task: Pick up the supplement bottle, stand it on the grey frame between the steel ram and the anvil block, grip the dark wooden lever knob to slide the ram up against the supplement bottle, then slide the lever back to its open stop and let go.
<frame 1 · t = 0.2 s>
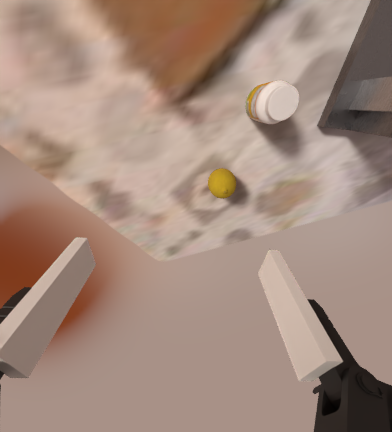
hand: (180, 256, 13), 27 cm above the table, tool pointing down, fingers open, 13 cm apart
lemon: (219, 175, 38), on the table
supplement bottle: (259, 103, 31), on the table
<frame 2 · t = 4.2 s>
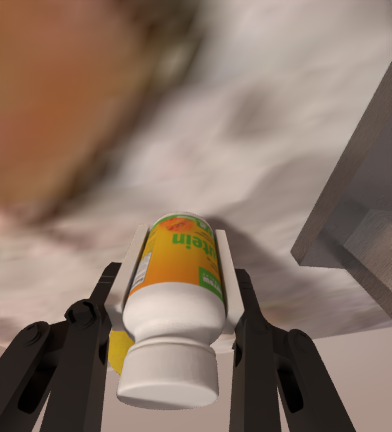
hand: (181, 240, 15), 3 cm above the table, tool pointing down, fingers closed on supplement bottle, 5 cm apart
lemon: (143, 301, 24), on the table
supplement bottle: (182, 234, 15), point 2 cm above the table, touching gripper
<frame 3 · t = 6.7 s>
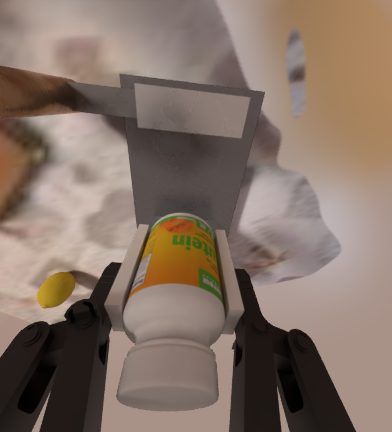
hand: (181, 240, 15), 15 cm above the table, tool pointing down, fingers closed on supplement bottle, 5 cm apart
lemon: (69, 271, 39), on the table
grey frame: (187, 182, 27), on the table
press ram: (132, 105, 14), point 9 cm above the table, slide at 0.0 cm
supplement bottle: (182, 235, 15), point 14 cm above the table, touching gripper
when the fingers open (3 cm above the table, at t = 9.1 s): supplement bottle stays where it is, resting on grey frame.
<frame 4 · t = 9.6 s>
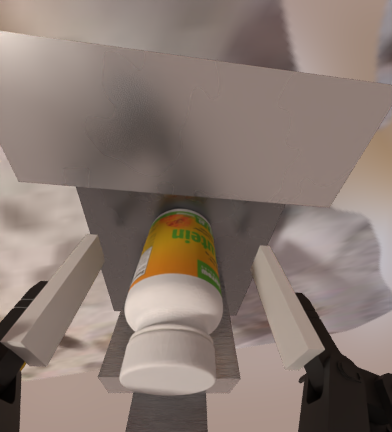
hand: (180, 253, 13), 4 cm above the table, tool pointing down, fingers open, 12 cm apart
grey frame: (182, 229, 17), on the table
supplement bottle: (181, 231, 15), point 2 cm above the table, touching grey frame
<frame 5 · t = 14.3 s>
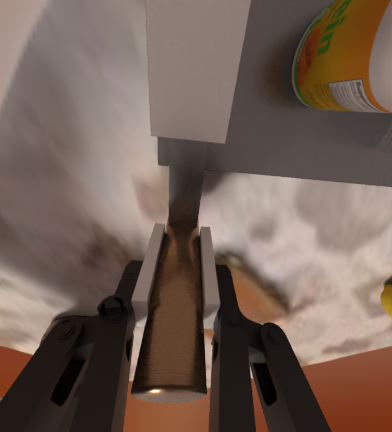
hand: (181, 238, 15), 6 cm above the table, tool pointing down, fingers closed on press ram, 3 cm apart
lemon: (385, 283, 28), on the table
grey frame: (328, 67, 13), on the table
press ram: (187, 149, 8), point 9 cm above the table, slide at 0.0 cm, touching gripper
supplement bottle: (329, 61, 11), point 2 cm above the table, touching grey frame
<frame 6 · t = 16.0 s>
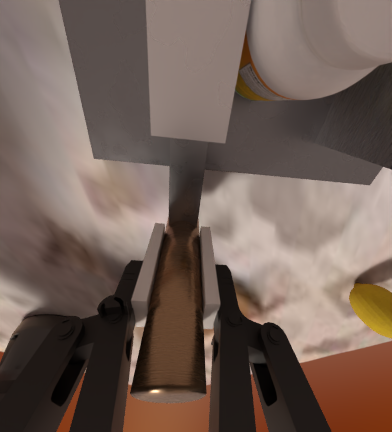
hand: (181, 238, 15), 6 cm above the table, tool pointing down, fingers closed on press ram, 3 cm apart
lemon: (355, 282, 28), on the table
grey frame: (259, 57, 13), on the table
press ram: (188, 148, 8), point 9 cm above the table, slide at 5.4 cm, touching supplement bottle, gripper
supplement bottle: (261, 50, 11), point 2 cm above the table, touching grey frame, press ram
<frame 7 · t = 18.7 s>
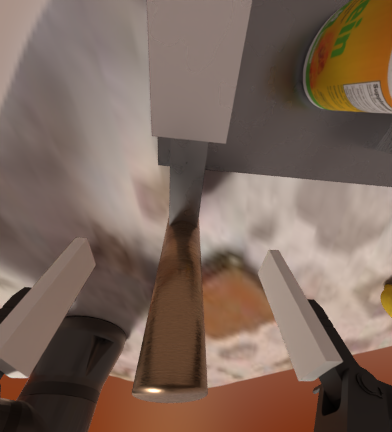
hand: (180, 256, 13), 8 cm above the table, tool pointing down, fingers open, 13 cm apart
lemon: (385, 283, 28), on the table
grey frame: (328, 67, 13), on the table
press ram: (188, 149, 8), point 9 cm above the table, slide at 0.0 cm
supplement bottle: (340, 62, 11), point 2 cm above the table, touching grey frame
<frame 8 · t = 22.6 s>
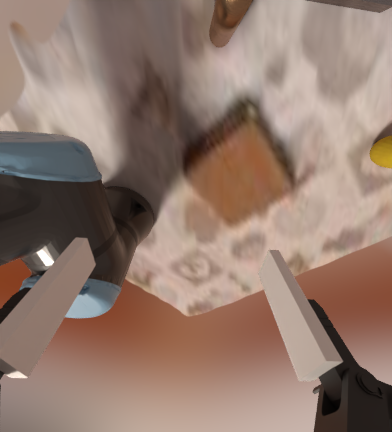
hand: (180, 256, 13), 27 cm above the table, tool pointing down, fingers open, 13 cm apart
lemon: (373, 146, 35), on the table
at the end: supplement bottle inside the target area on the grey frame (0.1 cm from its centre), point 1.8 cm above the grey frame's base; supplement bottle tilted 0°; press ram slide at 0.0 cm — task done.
